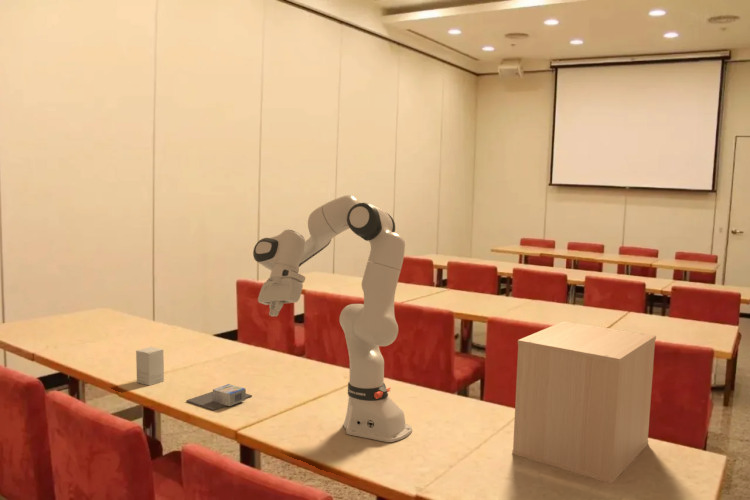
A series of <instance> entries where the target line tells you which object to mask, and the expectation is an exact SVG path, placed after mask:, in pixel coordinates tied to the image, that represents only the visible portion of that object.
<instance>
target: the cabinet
mask: <svg viewBox="0 0 750 500" xmlns="http://www.w3.org/2000/svg"><path fill="white" fill-rule="evenodd" d="M656 339H657V336H656V335H655V334H647V333H641V332H634V331H628V330H621V329H616V328H608V327H603V326H598V325H597V326H596V325H590V324H584V323H578V322H572V321H565V320H564V321H561V322H558V323H556V324H553V325H551V326H550V327H545V328H544V329H541V330H539V331H537V332H534V333H532V334H530V335H527V336H525V337H524V336H523V337H522V338H520V339H518V340H517V363H516V364H517V365H516V380H515V381H516V382H515V383H516V384H515V386H516V387H515V404H514V405H515V407H514V424H513V425H514V426H513V445H512V450H511V452H512V453H511V455H516V456H518V457H521V458H524V459H528V460H531V461H535V462H539V463H541V464H544V465H548V466H551V467H554V468H559V469H561V470H565V471H568V472H572V473H575V474H577V475H581V476H584V477H587V478H590V479H594V480H598V481H602V482H605V483H607V484H611V485H612V484H613V483H614V482H615V481H616V480H617V478H619V476H620V475H622V473H623V472H624V471H625V470H626V469H627V468H628V467H629V465H630V464H631V463H632V462H633V461H634V460H635V459H636V457H638V456H639V454H640V453H642V451H643V450H644V449H645V448H646V447H647V446H648V445H649V427H650V417H651V415H650V414H651V404H652V403H651V402H652V401H651V400H652V388H653V375H654V359H655V349H656V348H655V347H656V346H655V345H656Z"/></svg>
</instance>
